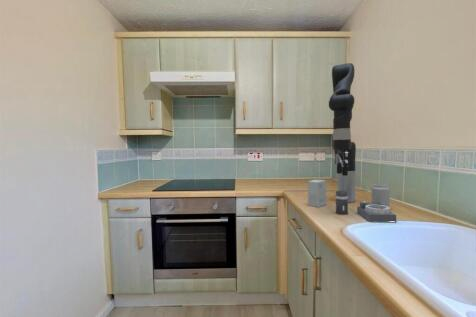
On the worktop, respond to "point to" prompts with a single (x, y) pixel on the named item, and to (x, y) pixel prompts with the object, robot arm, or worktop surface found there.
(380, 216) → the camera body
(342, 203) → the lens
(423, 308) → the worktop surface
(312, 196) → the small box
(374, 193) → the can
